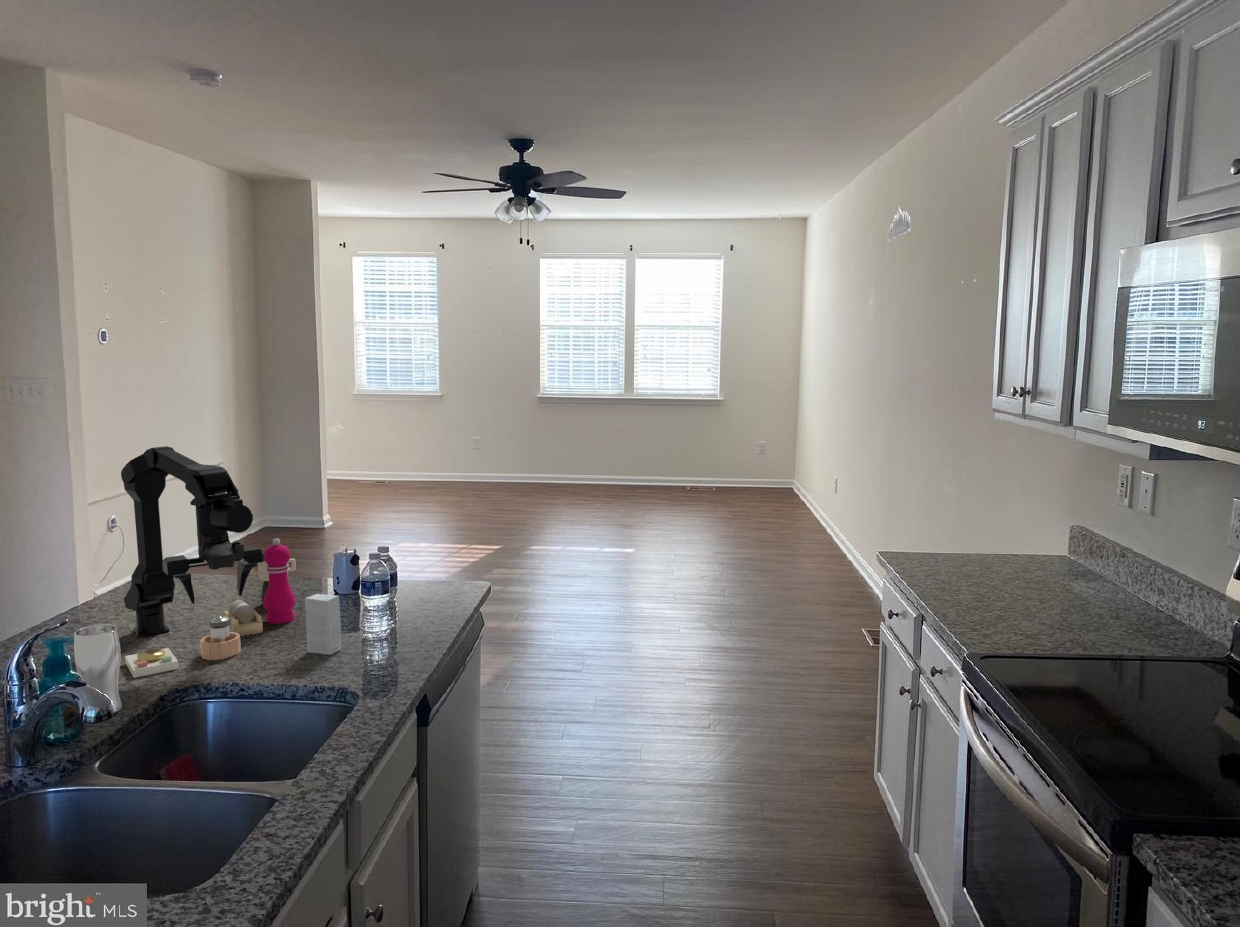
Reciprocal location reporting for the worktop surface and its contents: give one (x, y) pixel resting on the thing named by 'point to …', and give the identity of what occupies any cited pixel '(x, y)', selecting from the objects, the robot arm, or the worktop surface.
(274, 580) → the pepper mill
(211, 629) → the glass salt shaker
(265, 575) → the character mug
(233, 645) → the peach faceted bowl
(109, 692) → the beer glass
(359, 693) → the worktop surface
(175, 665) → the white decorated slab
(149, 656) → the gold disc
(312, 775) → the worktop surface
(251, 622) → the trough rack
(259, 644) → the worktop surface
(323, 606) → the skincare box
